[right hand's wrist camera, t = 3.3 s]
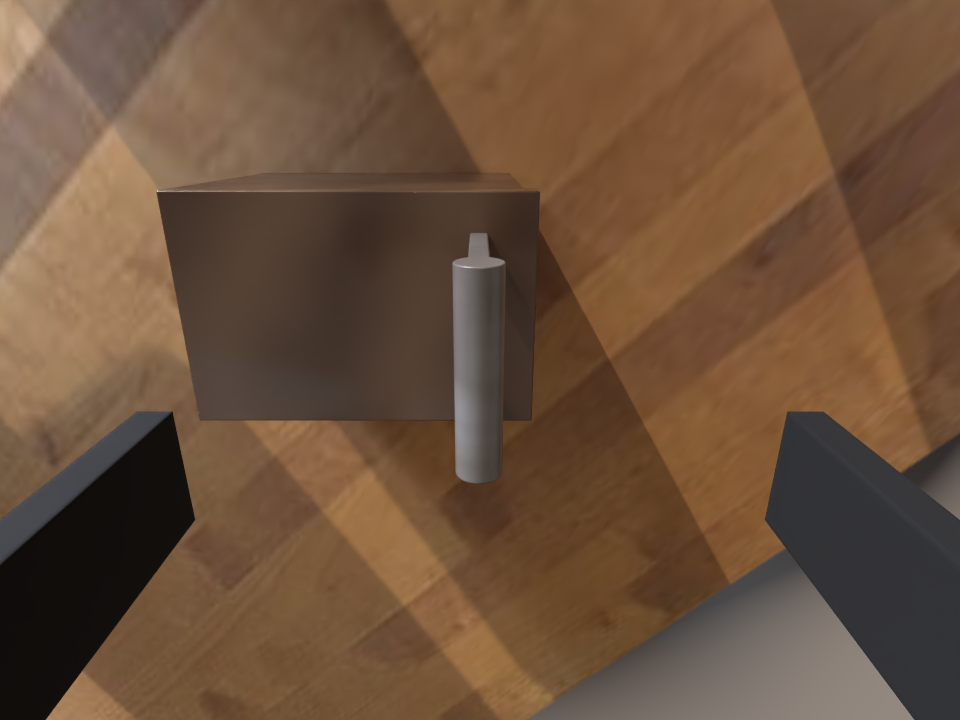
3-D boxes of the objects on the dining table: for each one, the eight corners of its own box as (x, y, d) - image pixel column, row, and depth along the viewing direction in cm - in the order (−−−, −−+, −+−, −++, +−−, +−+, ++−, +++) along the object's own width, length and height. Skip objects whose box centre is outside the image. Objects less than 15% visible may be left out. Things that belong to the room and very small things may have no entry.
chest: (510, 173, 33) (523, 188, 23) (507, 335, 37) (517, 409, 27) (263, 173, 33) (170, 188, 23) (284, 335, 37) (210, 409, 27)
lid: (537, 188, 23) (566, 214, 15) (529, 410, 27) (550, 522, 19) (170, 188, 23) (12, 213, 15) (209, 409, 26) (99, 521, 19)
